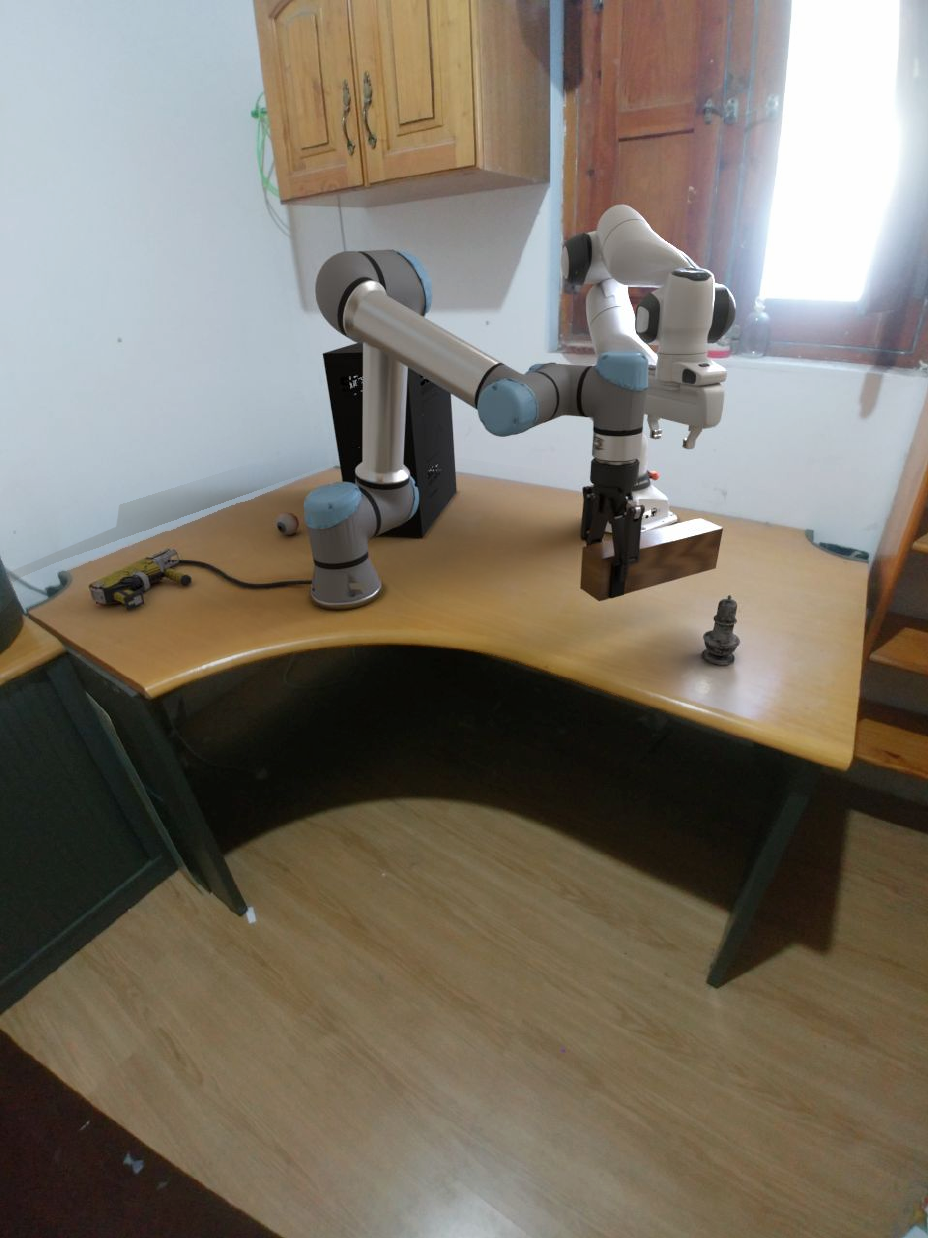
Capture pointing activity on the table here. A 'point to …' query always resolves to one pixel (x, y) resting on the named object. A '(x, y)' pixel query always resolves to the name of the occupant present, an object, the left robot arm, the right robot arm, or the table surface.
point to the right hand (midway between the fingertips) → (671, 443)
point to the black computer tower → (422, 440)
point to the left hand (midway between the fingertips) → (604, 588)
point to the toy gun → (136, 580)
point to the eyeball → (287, 523)
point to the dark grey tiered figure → (722, 635)
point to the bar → (654, 557)
